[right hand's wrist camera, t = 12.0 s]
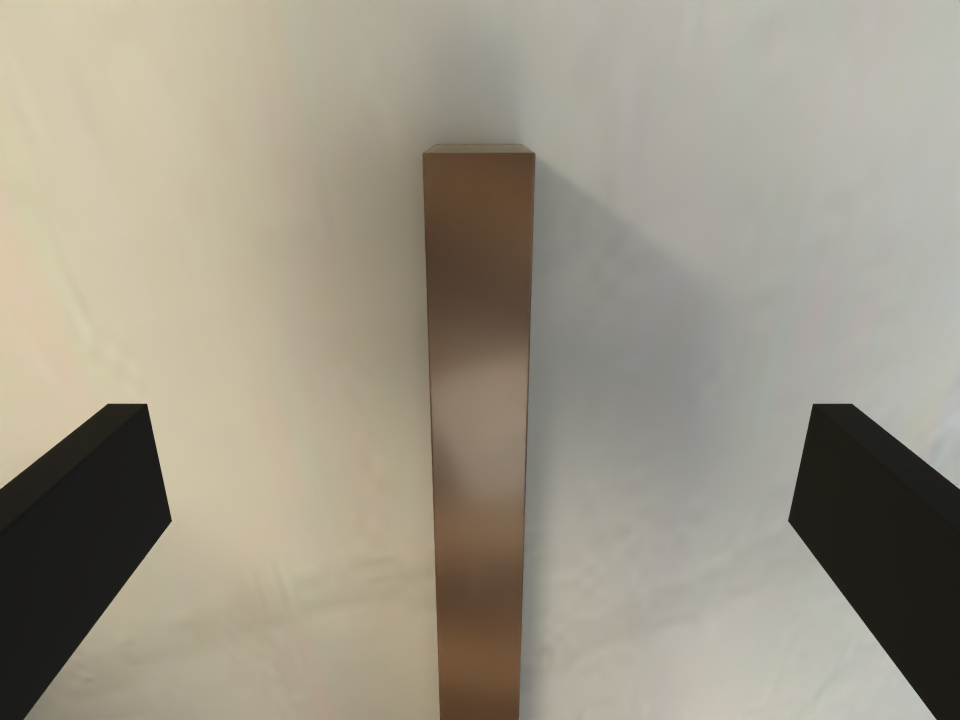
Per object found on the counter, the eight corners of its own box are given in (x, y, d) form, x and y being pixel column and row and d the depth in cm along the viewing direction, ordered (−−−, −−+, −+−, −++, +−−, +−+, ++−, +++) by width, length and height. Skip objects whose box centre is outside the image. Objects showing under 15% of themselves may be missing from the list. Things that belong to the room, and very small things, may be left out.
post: (436, 143, 34) (422, 152, 26) (522, 144, 34) (535, 152, 26) (453, 891, 56) (449, 1023, 48) (505, 891, 56) (510, 1023, 48)
